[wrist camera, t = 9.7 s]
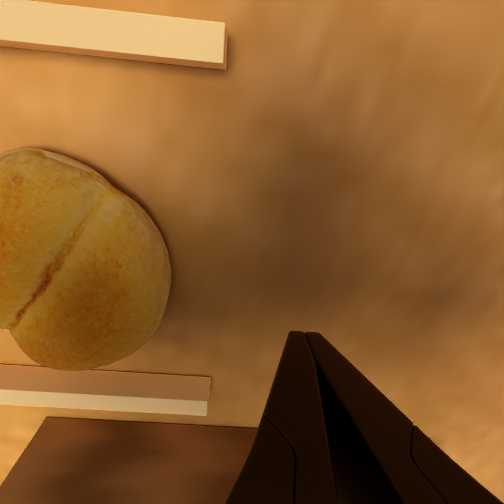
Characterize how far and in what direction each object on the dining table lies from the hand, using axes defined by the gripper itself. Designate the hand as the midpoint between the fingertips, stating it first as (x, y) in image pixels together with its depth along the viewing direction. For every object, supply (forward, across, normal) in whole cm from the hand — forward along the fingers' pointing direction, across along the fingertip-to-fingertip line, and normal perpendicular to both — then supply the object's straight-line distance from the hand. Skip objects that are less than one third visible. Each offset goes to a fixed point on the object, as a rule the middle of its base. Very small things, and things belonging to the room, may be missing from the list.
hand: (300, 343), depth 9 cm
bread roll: (+6, +9, +1) cm, 11 cm away
